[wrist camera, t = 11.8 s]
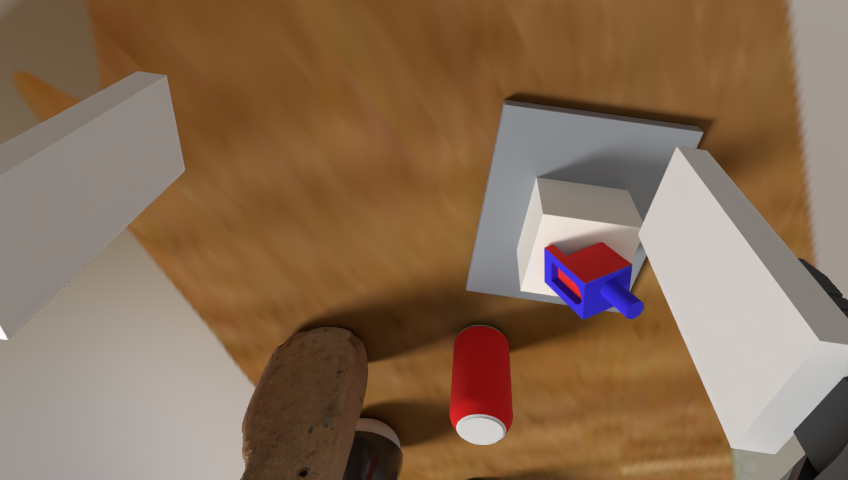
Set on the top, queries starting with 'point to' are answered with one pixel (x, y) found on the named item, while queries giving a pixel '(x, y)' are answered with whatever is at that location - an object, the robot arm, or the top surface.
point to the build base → (568, 162)
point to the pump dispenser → (374, 452)
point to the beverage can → (481, 385)
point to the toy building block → (591, 280)
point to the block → (306, 408)
